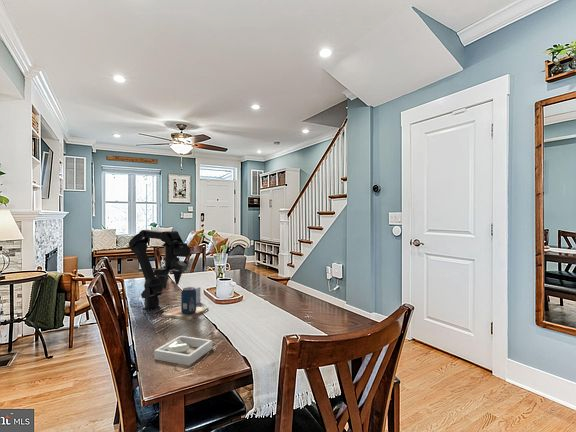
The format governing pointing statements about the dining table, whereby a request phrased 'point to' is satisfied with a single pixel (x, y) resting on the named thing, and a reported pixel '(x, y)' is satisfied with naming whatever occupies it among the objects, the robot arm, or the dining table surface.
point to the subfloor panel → (178, 314)
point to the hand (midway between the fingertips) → (171, 286)
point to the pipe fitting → (177, 347)
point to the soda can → (188, 301)
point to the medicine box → (197, 294)
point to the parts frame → (181, 358)
